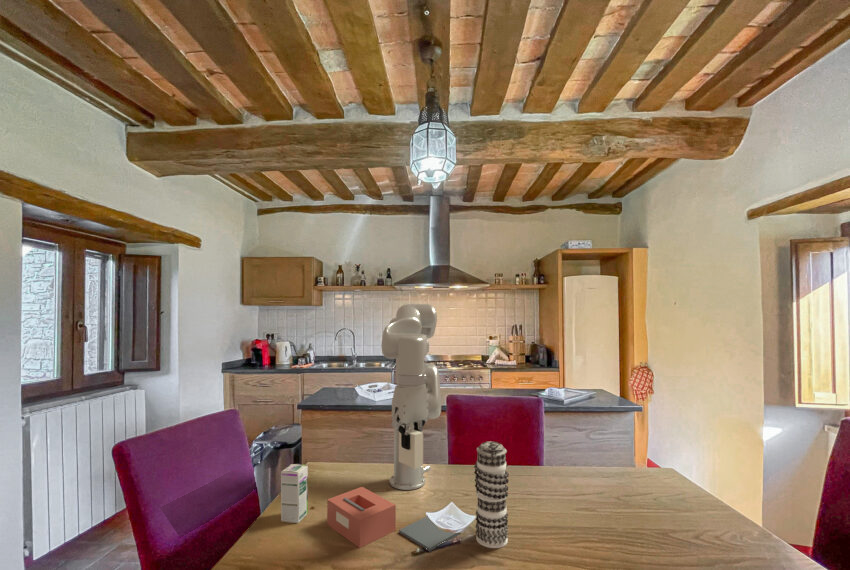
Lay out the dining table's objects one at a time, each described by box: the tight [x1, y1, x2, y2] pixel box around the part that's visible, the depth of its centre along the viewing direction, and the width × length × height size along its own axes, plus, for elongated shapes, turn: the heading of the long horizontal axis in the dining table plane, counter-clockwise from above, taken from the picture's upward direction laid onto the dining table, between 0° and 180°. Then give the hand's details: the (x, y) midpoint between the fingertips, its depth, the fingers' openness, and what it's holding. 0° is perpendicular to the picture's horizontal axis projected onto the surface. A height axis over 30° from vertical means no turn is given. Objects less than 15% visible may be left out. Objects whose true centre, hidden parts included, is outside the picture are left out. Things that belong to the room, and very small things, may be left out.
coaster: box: [398, 515, 460, 552], centre depth 115 cm, size 12×12×1 cm
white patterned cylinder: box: [473, 440, 509, 549], centre depth 113 cm, size 9×9×25 cm
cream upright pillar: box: [399, 428, 424, 469], centre depth 117 cm, size 3×7×9 cm, turn 41°
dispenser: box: [326, 486, 397, 549], centre depth 118 cm, size 12×16×7 cm
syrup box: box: [280, 463, 309, 524], centre depth 123 cm, size 6×6×14 cm
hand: (410, 446), depth 117 cm, fingers closed on cream upright pillar, 3 cm apart
